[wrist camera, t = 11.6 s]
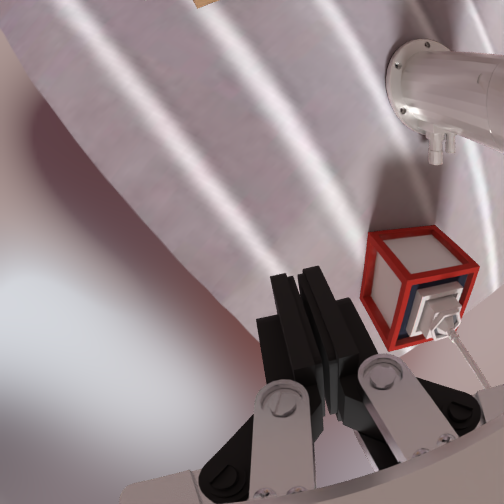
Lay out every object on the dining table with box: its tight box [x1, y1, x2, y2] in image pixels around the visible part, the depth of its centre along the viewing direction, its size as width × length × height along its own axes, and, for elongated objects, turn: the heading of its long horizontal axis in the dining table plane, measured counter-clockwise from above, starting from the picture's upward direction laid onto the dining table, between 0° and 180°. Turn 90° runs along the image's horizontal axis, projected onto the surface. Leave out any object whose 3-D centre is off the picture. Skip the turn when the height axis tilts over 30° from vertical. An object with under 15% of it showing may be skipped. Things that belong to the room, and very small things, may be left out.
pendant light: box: [360, 225, 491, 389], centre depth 32 cm, size 11×11×30 cm
